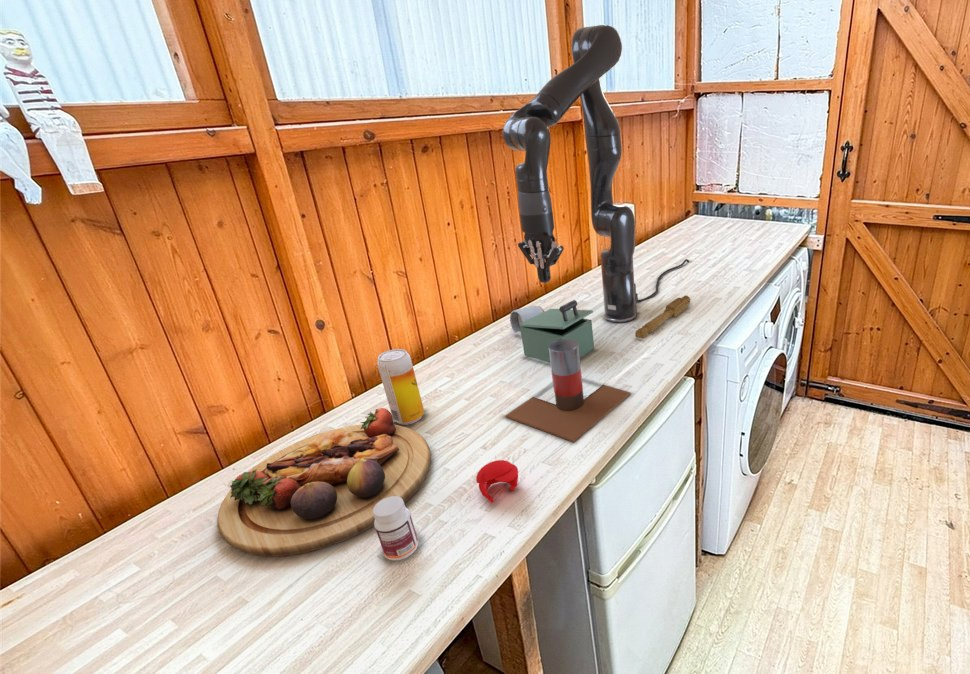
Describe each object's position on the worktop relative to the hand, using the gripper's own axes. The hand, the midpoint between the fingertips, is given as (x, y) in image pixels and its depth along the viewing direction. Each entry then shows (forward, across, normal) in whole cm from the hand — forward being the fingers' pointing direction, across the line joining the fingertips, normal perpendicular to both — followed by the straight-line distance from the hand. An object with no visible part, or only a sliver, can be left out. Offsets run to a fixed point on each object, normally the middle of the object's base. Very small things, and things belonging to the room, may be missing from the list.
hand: (544, 281), depth 127 cm
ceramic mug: (+20, +16, -7) cm, 26 cm away
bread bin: (+20, -2, 0) cm, 20 cm away
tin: (+19, -20, +18) cm, 33 cm away
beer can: (+20, +7, +38) cm, 43 cm away
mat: (+20, -20, +18) cm, 33 cm away
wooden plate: (+20, 0, +58) cm, 61 cm away
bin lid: (+10, -2, 0) cm, 10 cm away
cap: (+20, -27, +45) cm, 56 cm away
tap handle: (+20, -15, -32) cm, 40 cm away
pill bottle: (+20, -23, +61) cm, 68 cm away
